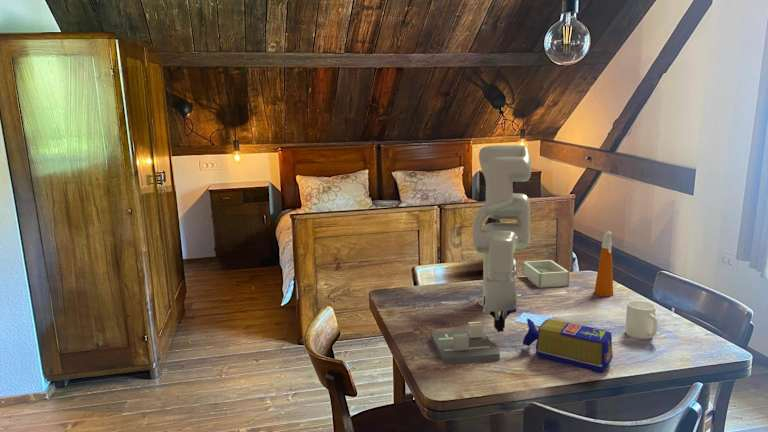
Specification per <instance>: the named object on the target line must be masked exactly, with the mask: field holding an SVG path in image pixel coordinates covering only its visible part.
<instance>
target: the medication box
mask: <svg viewBox="0 0 768 432" xmlns="http://www.w3.org/2000/svg"><path fill="white" fill-rule="evenodd" d="M535 269H536V270H537V271H539V272H540V273H547V272H552V271H548V270H544V269H541V268H535Z"/></svg>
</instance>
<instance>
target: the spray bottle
mask: <svg viewBox="0 0 768 432" xmlns="http://www.w3.org/2000/svg"><path fill="white" fill-rule="evenodd" d="M612 235H613V232H612V231H606V232H604V234H603V238H602V242H601V249H600V255H599V261H598V265H597V266H598V268H597V273H596V280H595V285H594V286H595V287H594V294H595V295H597V296H600V297H610V296H611V297H612V296H613V295H614V282H613V281H614V279H613V278H614V277H613V275H614V274H613V254H612V251H613V249H612V245H613V244H612Z"/></svg>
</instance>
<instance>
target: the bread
mask: <svg viewBox="0 0 768 432" xmlns="http://www.w3.org/2000/svg"><path fill="white" fill-rule="evenodd" d="M526 321H527V322H526V323H527V325H528V330H527V333H526V334H525V336H524V338H523V341H522V345H524V346H527V348H528V347H529V346H530V345H532V343H534V342H535V341H536V344H535V350H536V354H537V357H538V358H541V359H545V360H549V361H552V362H556V363H560V364H564V365H568V366H572V367H576V368H580V369H582V370H583V369H584V370H588V371H592V372H595V373H600V374H603V373H604V372H605V371H606V370H607V368H608V367H609V365H610V363H611V362H612V359H613V355H614V354H613V345H612V343H613V341H612V340H613V339H612V332H610V331H609V330H604V329H601V328H596V327H591V326H587V325H582V324H577V323H572V322H568V321H562V320H557V319H553V318H551V319H546V320H544V321H543V322H542V324H540V325H539V327H538V329H536V324H535V322H534V321H532V320H531V319H530V318H526Z"/></svg>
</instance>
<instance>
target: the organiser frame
mask: <svg viewBox="0 0 768 432" xmlns="http://www.w3.org/2000/svg"><path fill="white" fill-rule="evenodd" d="M535 268H541V269H544V270H548V271H552V272H547V273H540V272H539V271H537V270H536V269H535ZM522 276H524V277H525V278H526V277H527V278H528V279H527V278H526V279H527V280H529V282H531V283H532V284H533V285H535V286H536V287H538V288H539V289H541V288H555V287H556V288H557V287H568V286H570V271H568V270H567V269H565V268H564V267H563V266H561V265H559V264H558V263H556V262H555V261H554V260H552V259H543V260H527V261H526V260H525V261H522Z"/></svg>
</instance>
